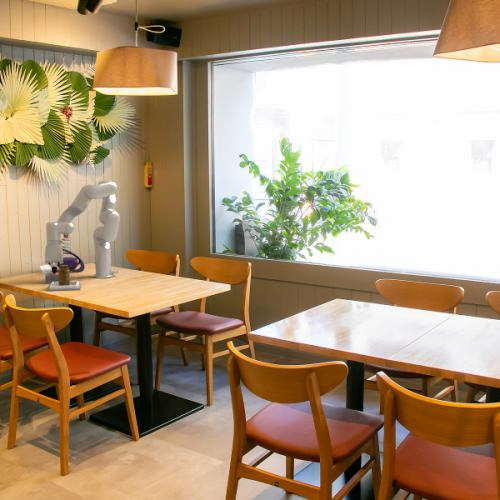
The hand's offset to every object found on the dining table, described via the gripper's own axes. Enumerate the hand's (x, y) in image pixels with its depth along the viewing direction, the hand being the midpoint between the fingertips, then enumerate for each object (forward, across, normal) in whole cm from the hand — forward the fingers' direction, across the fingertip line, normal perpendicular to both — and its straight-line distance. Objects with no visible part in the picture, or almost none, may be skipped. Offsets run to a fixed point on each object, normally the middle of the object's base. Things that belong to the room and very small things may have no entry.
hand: (54, 273), depth 371 cm
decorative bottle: (+6, -5, -38) cm, 38 cm away
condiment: (+5, -7, +20) cm, 21 cm away
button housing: (+5, 0, 0) cm, 5 cm away
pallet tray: (+5, -7, +19) cm, 21 cm away
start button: (+3, 0, 0) cm, 3 cm away
